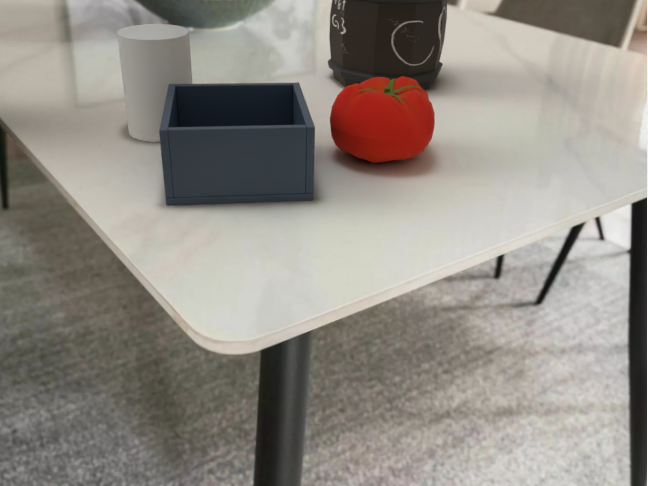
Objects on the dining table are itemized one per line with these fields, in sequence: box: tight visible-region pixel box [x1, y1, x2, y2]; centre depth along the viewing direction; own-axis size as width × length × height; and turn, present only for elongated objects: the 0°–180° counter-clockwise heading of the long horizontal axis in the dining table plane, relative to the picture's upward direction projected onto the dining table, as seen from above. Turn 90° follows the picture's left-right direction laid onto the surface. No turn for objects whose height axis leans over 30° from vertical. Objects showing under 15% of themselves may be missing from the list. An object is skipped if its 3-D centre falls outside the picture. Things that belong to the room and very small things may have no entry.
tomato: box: [329, 76, 436, 164], centre depth 78 cm, size 13×12×8 cm
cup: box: [116, 23, 194, 143], centre depth 82 cm, size 8×8×12 cm
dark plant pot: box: [327, 0, 448, 91], centre depth 103 cm, size 18×18×16 cm
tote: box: [159, 82, 316, 206], centre depth 72 cm, size 15×15×8 cm
